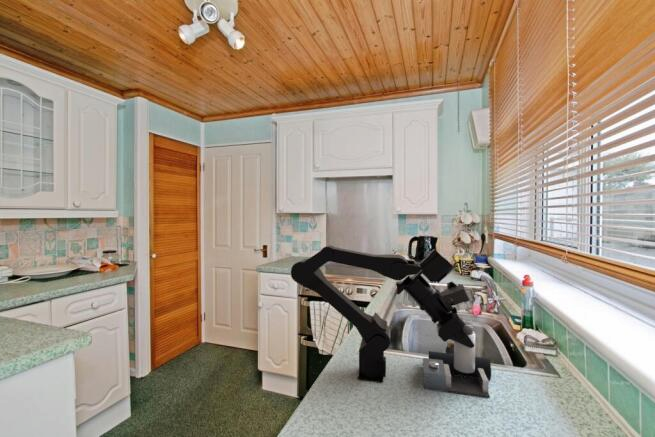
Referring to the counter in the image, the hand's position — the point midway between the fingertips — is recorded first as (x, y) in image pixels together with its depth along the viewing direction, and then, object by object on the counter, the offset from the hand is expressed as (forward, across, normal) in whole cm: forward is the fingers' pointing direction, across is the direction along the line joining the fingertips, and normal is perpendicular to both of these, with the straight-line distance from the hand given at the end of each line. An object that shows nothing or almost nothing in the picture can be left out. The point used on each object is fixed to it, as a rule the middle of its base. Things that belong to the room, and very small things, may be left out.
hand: (470, 342), depth 76 cm
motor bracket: (+5, 0, +10) cm, 12 cm away
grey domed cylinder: (+4, 0, +6) cm, 7 cm away
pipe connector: (+7, +10, +9) cm, 15 cm away
